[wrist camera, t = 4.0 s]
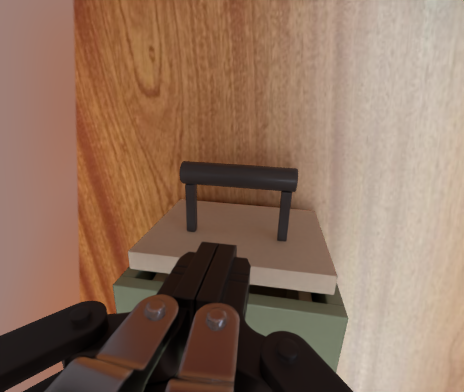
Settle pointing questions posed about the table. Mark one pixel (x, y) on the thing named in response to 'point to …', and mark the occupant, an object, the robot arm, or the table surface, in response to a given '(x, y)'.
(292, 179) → the drawer
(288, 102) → the table surface
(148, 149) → the table surface
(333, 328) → the cabinet
